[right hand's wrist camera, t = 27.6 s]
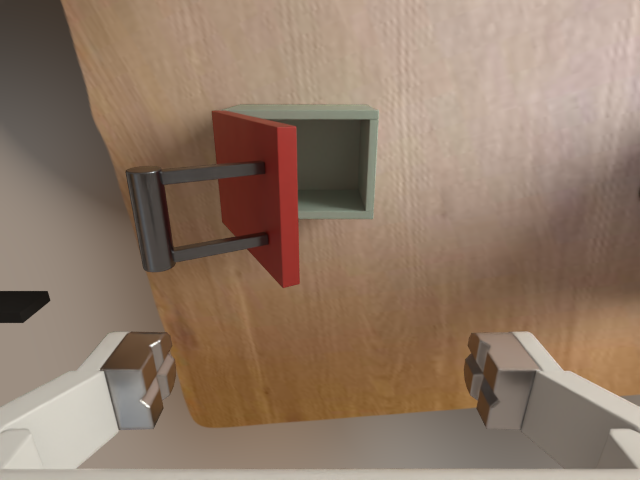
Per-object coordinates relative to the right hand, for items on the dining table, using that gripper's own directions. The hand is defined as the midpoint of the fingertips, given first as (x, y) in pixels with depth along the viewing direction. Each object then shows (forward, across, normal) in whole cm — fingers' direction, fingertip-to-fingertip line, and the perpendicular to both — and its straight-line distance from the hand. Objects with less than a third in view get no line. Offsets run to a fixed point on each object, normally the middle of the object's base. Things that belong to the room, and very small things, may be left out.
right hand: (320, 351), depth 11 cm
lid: (+19, +5, 0) cm, 19 cm away
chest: (+34, +2, 0) cm, 34 cm away
